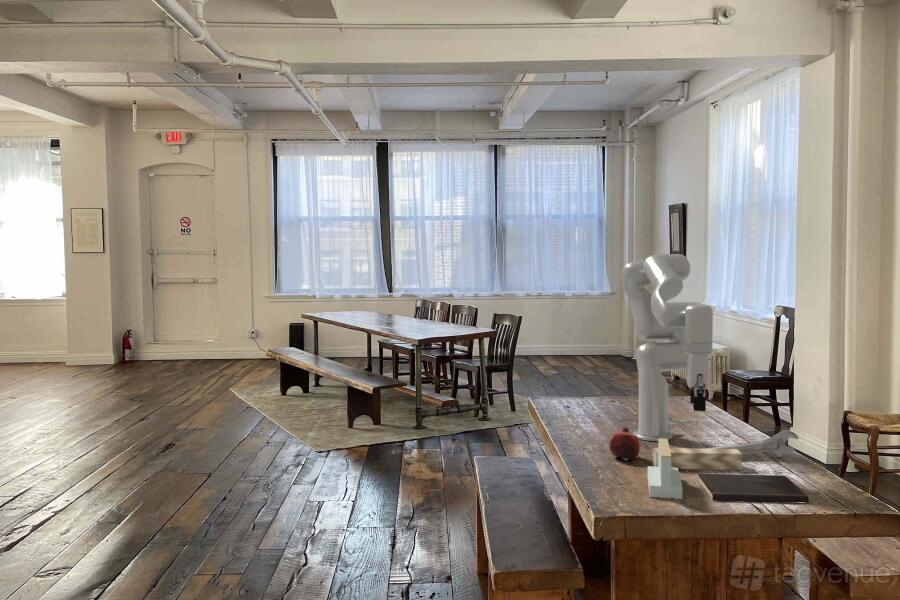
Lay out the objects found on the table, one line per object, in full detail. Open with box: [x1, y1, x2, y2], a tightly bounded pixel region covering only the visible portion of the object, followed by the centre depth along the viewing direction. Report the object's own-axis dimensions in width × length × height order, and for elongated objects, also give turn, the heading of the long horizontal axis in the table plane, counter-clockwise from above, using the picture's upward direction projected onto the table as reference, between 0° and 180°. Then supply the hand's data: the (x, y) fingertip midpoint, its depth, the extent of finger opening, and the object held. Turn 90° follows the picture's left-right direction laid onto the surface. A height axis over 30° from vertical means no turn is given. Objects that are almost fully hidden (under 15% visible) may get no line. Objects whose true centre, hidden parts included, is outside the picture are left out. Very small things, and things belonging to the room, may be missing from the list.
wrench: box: [705, 429, 799, 458], centre depth 210 cm, size 8×2×30 cm
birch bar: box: [652, 447, 743, 471], centre depth 202 cm, size 24×4×5 cm, turn 85°
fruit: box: [608, 425, 641, 462], centre depth 211 cm, size 9×10×10 cm
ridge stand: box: [647, 438, 683, 500], centre depth 185 cm, size 16×8×11 cm, turn 166°
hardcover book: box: [697, 472, 810, 504], centre depth 182 cm, size 16×23×2 cm
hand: (697, 407), depth 201 cm, fingers open, 9 cm apart
